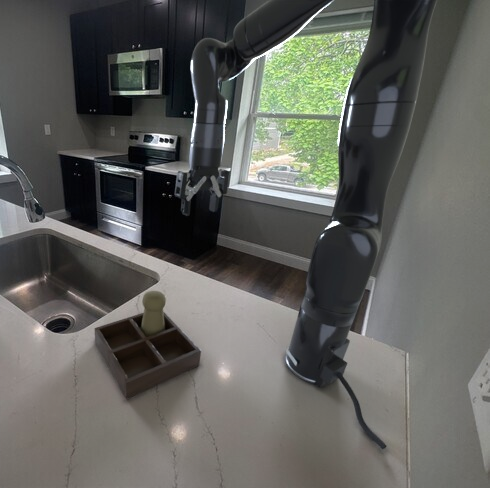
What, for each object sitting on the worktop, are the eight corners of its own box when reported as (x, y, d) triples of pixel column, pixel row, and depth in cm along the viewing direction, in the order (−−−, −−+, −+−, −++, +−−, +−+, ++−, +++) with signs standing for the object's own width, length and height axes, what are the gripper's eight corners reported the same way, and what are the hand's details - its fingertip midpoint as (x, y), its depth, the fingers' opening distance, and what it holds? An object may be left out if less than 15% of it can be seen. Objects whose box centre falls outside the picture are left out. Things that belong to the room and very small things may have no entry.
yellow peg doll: (162, 345, 66) (164, 304, 62) (136, 340, 67) (137, 299, 63) (167, 327, 72) (170, 289, 67) (143, 323, 73) (144, 285, 68)
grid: (199, 365, 62) (201, 350, 61) (126, 399, 54) (126, 383, 53) (159, 320, 75) (159, 307, 74) (95, 342, 67) (94, 328, 66)
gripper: (191, 146, 61) (185, 221, 68) (241, 146, 68) (231, 213, 75) (171, 143, 67) (167, 211, 74) (219, 143, 74) (212, 206, 81)
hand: (199, 212), depth 74 cm, fingers open, 8 cm apart
